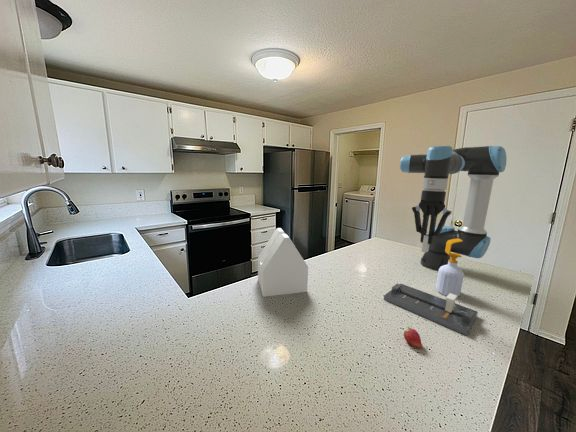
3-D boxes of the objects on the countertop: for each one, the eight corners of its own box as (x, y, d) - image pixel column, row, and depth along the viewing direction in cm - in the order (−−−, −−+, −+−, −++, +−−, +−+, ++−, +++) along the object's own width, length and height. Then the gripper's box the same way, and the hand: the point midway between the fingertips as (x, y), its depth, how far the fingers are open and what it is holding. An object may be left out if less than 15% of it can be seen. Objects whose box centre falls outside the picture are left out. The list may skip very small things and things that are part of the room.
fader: (447, 306, 89) (449, 292, 88) (454, 308, 87) (457, 295, 86) (443, 310, 86) (445, 297, 85) (451, 313, 84) (453, 300, 83)
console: (400, 287, 107) (401, 279, 107) (476, 316, 87) (478, 306, 86) (383, 299, 97) (384, 290, 96) (466, 335, 77) (468, 324, 76)
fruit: (415, 352, 69) (418, 337, 68) (399, 339, 74) (401, 325, 73) (425, 348, 71) (428, 333, 70) (408, 335, 76) (410, 321, 75)
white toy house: (263, 296, 97) (263, 238, 92) (258, 280, 111) (258, 228, 106) (307, 291, 102) (309, 236, 97) (296, 276, 116) (298, 227, 111)
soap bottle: (464, 298, 99) (474, 243, 94) (440, 295, 101) (449, 241, 96) (454, 288, 108) (463, 237, 103) (432, 286, 110) (440, 235, 105)
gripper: (411, 189, 88) (403, 248, 93) (451, 192, 79) (441, 258, 83) (418, 188, 93) (411, 245, 98) (457, 191, 84) (447, 253, 88)
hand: (424, 251), depth 91 cm, fingers closed
